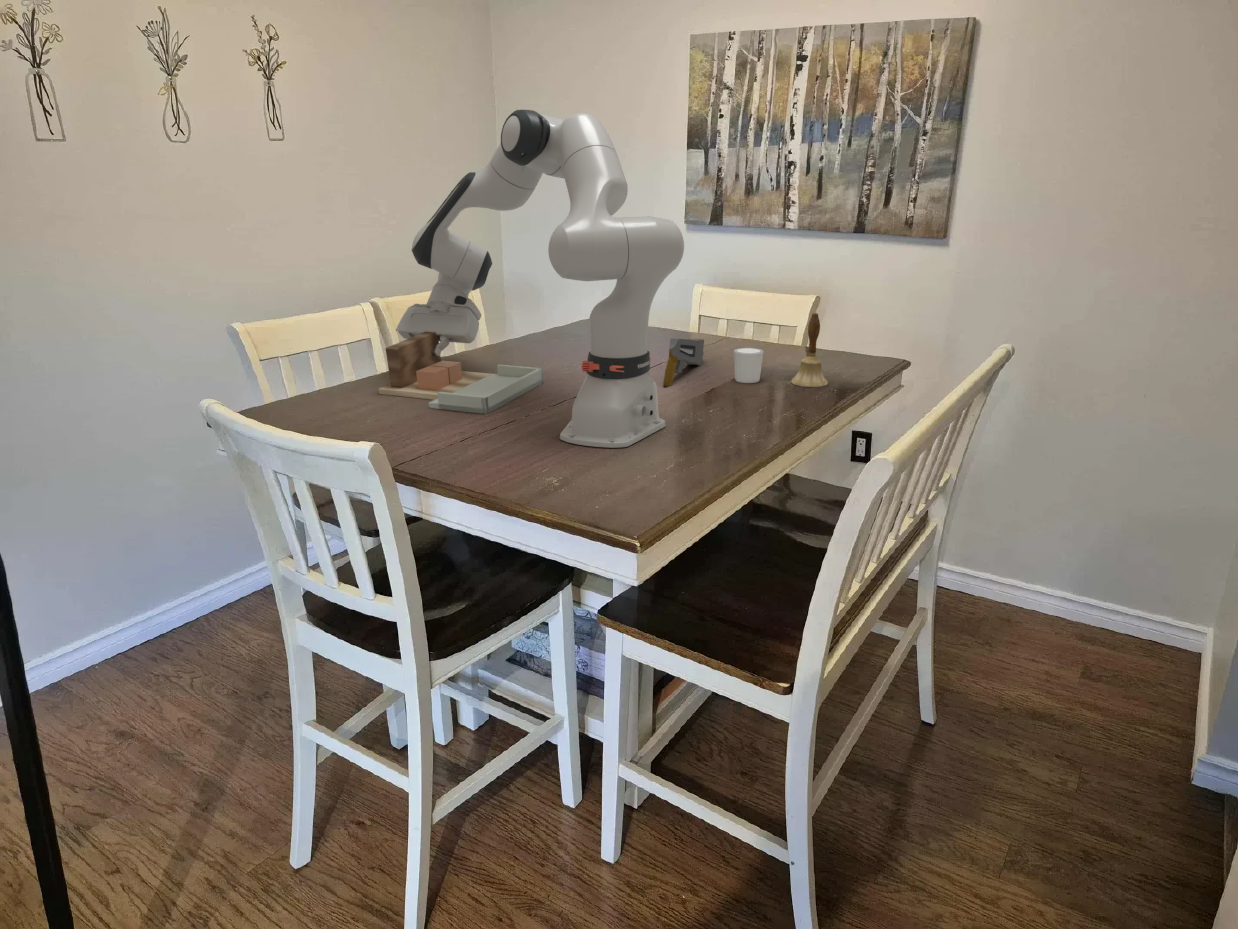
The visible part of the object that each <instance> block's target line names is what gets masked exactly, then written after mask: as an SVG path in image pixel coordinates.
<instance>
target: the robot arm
mask: <svg viewBox="0 0 1238 929" xmlns="http://www.w3.org/2000/svg"><path fill="white" fill-rule="evenodd" d="M602 123H603V122H601V121H600V120H599V118H598V117H597V116H595V115H593V114H591V113H587V112H578V113H574V114H572V115H570V116H568V117H567V118H565V119H564V120H563V118H560V117H556V116H553V115H550V114H545V113H539V112H537V111H536V110H532V109H517V110H514V111H513V112H511V113H510V114H509V115H508V117H507V118H506V119H505V121H504V123H503V125H502V129H501V134H500V144H498V146H497V148H496V150H495V152H494V153H493V155H492V157H491V158H490V160H489V163H488V164H487V165H486V166H485V167H484V168H482V169H480V170H478V171H476V172H472V171H471V172H468V173H467V174H465V175H464V176H463V177H462V178H461V179H460V180H459V181H458V183H457V184H456V185H455V187H454V188H453V189H452V190H451V192H449V194H448V195H447V197H446V198H445V199H444V201H443V202H442V203H441V204H440V206H439V207H438V209H437V210H436V211H435V213H433V215H432V217H430V218H429V220H428V221H427V222H426V224H424V226H422V227H421V228H420V229H419V230H418V232H417V234H416V235H415V236H414V239H413V241H412V245H411V252H412V255H413V257H414V259H415V261H416V262H417V264H418V265H420V266H422V267H426V268H428V269H430V270H431V269H432V270H434V271H436V272H438V278H437V282H436V283H435V284H434V285H433V287H432V289H431V292H430V295H429V297H428V299H427V302H426V303H421V304H420V303H414V304H412V305H411V306H410V305H409V306H408V307H407V309H406V311H405V312H404V314H403V315H402V317H401V319H400V321H399V322H398V324H397V327H396V330H397V333H398V334H399V335H400V336H401V337H402V338H403V339H404V340H406V339H409V338H411V337H413V336H416V335H418V334H421V333H423V332H425V331H426V332H436V335H438V340H439V344H438V345H437V346H433V348H432V350H431V353H432V354H433V356H440V357H441V355H442V351H444V350H445V349H446V348H447V347H448V346H449V345H450V343H458V344H471V343H473V342H474V341H475V340H476V337H477V334H478V332H479V327H480V319H481V318H482V313H481V311H480V309H479V308H478V306H477V305H476V303H474V301H473V300H472V299H471V298H469V294H470V293H471V292H472V291H476V290H478V289H480V288H483V286H485V284H486V281H487V279H488V276H489V273H490V269H491V268H492V265H493V261H492V260H493V259H492V258H491V255H490V253H489V251H488V250H486V249H485V248H484V247H483V246H480V245H478V244H477V243H474V242H472V241H469V240H467V239H466V238H464V237H461V235H458V234H456V233H454V232H452V231H450V230H449V227H450V226H451V225H452V223H453V222H454V221H455V220H456V219H457V217H458V216H459V214H460V213H461V212H462V211H464V210H465V209H469V208H483V209H490V210H494V211H500V212H502V211H504V212H505V211H513V210H516V209H519V208H521V207H523V206H524V205H525V203H527V202H528V200H529V199H530V197H531V196H532V195H533V192H535V190H536V187H537V185H538V184H539V182H540V180H541V178H542V176H543V174H545V175H547V176H549V177H555V178H558V179H559V178H560V179H564V181H565V182H564V183H565V185H566V186H565V187H566V188H567V192H568V197H569V203H570V206H569V207H570V208H569V212H568V214H567V216H566V218H565V219H564V220H563V221H562V222H561V223H560V224H558V225H557V227H556V228H555V229H554V230H553V232H552V233H551V236H550V237H549V241H548V242H549V243H548V252H547V253H548V257H549V261H550V264H551V267H552V268H553V269H554V271H555V272H556V274H557V275H558V276H559V277H560V278H562V279H567V280H573V281H580V282H594V281H595V282H597V281H598V282H599V281H611V280H616V282H615V286H614V288H613V290H612V291H611V293H610V294H609V295H607V297H605V298H604V299H602V300H601V301H599V302H598V303H597V304H595V306H594V307H593V308H592V310H591V311H590V312H591V313H590V315H589V320H588V321H589V352H588V353H587V358H586V360H583V361H582V362H581V370H582V372H585V373H586V377H585V379H584V381H583V383H582V384H581V387H580V389H579V391H578V393H577V395H576V397H575V400H574V402H573V405H572V408H571V409H572V410H571V419H570V421H569V422H568V423H567V425H566V426H565V427H564V428H563V430H561V432H560V434H559V439H560V440H561V441H563V442H566V443H570V444H574V445H579V446H586V447H595V448H609V449H610V448H612V449H614V448H627V447H630V446H631V445H633V444H635V443H637V442H639V441H640V440H643V439H645V438H647V437H648V436H650V435H652V434H653V433H656V432H658V431H659V430H661V429H664V428H665V427H666V420H664V419H663V418H661V417H660V416H659V414H660V413H659V402H658V401H659V399H658V386H657V383H656V382H655V381H654V379H652V376H651V375H650V372H649V371H650V370H651V354H650V353H651V352H650V351H649V350H648V343H649V341H648V337H649V319H650V318H649V317H650V313H651V312H650V311H651V307H652V303H653V301H654V298H655V296H656V294H657V292H658V290H659V288H660V286H661V285H662V284H663V282H664V281H665V279H666V278H667V277H668V276H669V275H670V274H671V273H673V272H674V271H675V270H676V269H677V268H678V267H679V265H680V263H681V262H682V259H683V257H684V250H685V241H684V236H683V233H682V231H681V229H680V227H679V226H678V225H677V223H676V222H674V220H670V219H667V218H661V217H655V216H650V215H649V216H647V215H646V216H629V217H628V216H627V217H626V216H625V217H616V216H615V217H614V216H613V215H614V214H616V212H618V211H619V210H620V209H621V207H622V206H623V205H624V204H625V203H626V199H627V198H628V197H627V196H628V192H629V191H628V188H629V187H628V183H627V180H626V177H625V176H626V175H625V173H624V171H623V167H622V165H621V164H622V163H621V162H620V159H619V156H618V153H617V151H616V148H615V146H614V145H615V144H614V143H613V142H612V139H611V137H610V135H609V133H608V132H607V129H606V127H605V126H604V125H603V124H602Z"/></svg>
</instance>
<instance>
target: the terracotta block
mask: <svg viewBox="0 0 1238 929" xmlns="http://www.w3.org/2000/svg"><path fill="white" fill-rule="evenodd" d="M416 374H417V384H418V389H426V390H436V391H437V390H439V389H442V388H444V387H446V386H448V385H449V376H448V368H445V367H434V366H428V367H425V368H423V369H420V370H418V371H416Z"/></svg>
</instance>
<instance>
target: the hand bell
mask: <svg viewBox="0 0 1238 929" xmlns="http://www.w3.org/2000/svg"><path fill="white" fill-rule="evenodd" d="M807 325H808V326H807V327H808V328H807V334H808V340H809V341H808V342H809V344H808V349H807V350H808V351H807V356H806V357H803V358H802V359H801V360H800V365H799V369H798V371H797V373H796V374H795V376H794V377H792V378H791V380H790V383H791V384H792V385H795V386H797V387H801V388H822V387H826V386H827V385H828V384H829V381H828V380H827V379H826V377H825V376H824V373H823V371H822V360H821V359H820V358H818V357H817V355H816V353H817V350H816V349H817V341H818V338H819V335H820V330H821V322H820V318H819V313H817V312H813V313H811V317H810V319H809V321H808V324H807Z"/></svg>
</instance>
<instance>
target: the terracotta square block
mask: <svg viewBox="0 0 1238 929" xmlns="http://www.w3.org/2000/svg"><path fill="white" fill-rule="evenodd" d="M430 366H434V367H445V368H448V376H449V384H453V383H455V382H457V381H459V380H461V379H462V371H463V369H462V362H461V361H453V360H452V361H451V360H441V361H440V362H438V363H435V364H433V365H430Z"/></svg>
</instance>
